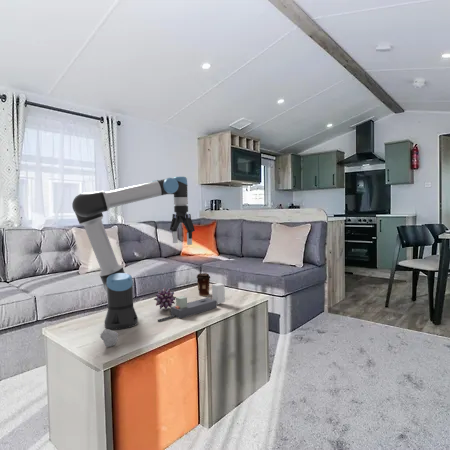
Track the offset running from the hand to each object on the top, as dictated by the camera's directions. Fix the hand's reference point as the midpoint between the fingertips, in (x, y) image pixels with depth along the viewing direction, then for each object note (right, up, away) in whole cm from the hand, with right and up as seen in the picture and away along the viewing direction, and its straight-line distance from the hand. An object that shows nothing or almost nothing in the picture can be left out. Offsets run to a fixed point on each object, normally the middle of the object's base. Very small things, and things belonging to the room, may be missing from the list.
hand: (182, 243), depth 186 cm
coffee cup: (+10, -33, +24) cm, 42 cm away
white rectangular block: (+20, -34, +3) cm, 40 cm away
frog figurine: (-23, -39, -51) cm, 67 cm away
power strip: (+4, -35, -12) cm, 37 cm away
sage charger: (+1, -32, -14) cm, 34 cm away
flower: (-9, -35, -4) cm, 37 cm away
